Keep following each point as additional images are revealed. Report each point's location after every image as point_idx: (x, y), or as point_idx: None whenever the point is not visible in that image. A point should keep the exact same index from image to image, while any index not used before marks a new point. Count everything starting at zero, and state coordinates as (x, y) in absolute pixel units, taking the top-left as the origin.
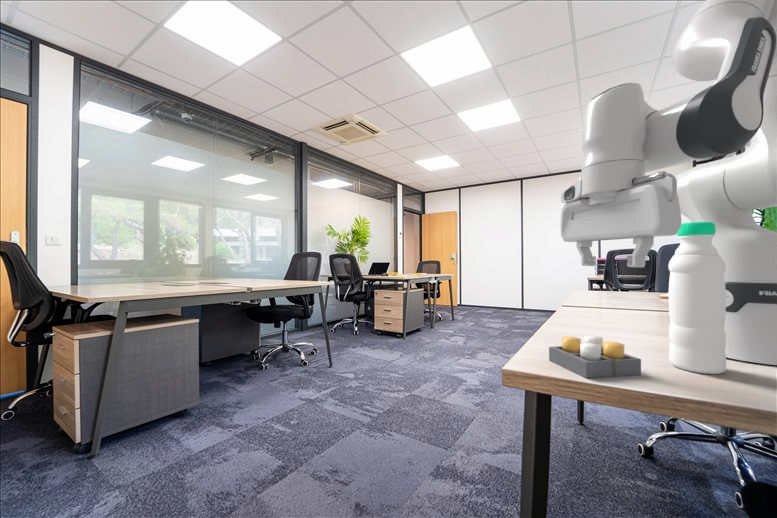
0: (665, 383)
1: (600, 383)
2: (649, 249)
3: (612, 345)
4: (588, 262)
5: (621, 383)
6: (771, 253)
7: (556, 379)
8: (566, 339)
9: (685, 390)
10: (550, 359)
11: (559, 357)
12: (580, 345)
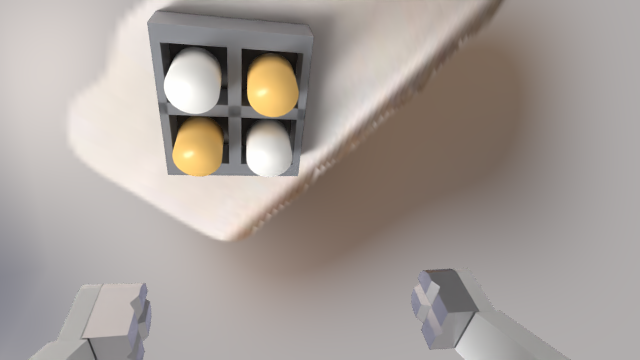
0: (364, 25)
1: (321, 150)
2: (536, 340)
3: (286, 111)
4: (148, 330)
5: (333, 115)
6: None
7: (284, 203)
8: (205, 174)
9: (403, 25)
10: None
11: None
12: (258, 173)
